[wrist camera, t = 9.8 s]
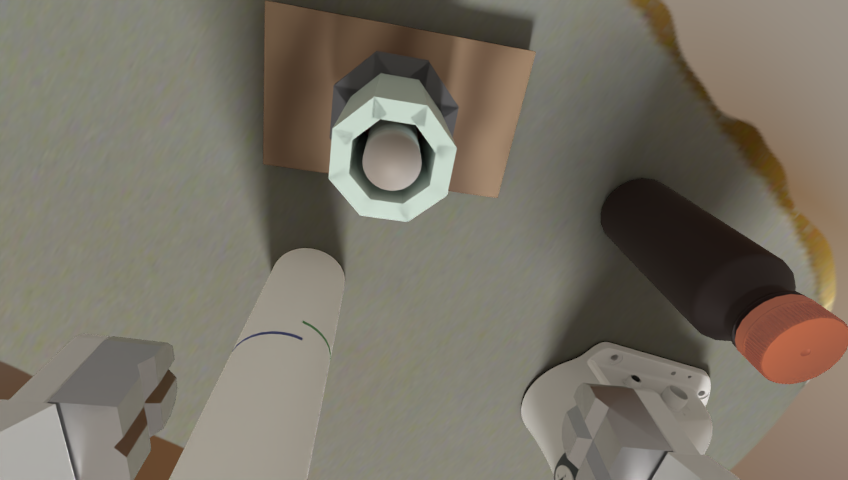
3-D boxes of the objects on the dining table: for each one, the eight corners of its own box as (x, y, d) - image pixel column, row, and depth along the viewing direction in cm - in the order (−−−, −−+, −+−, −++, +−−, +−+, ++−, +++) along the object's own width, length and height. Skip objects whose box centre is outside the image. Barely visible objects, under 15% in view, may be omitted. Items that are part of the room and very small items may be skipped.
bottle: (594, 243, 44) (728, 400, 26) (604, 178, 41) (765, 305, 23) (661, 240, 44) (840, 393, 26) (676, 175, 41) (891, 298, 23)
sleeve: (445, 84, 30) (464, 111, 21) (429, 171, 33) (440, 226, 24) (353, 67, 29) (335, 89, 21) (344, 159, 32) (325, 211, 23)
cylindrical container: (281, 238, 42) (149, 494, 19) (354, 261, 43) (308, 522, 21) (264, 297, 45) (132, 579, 22) (333, 317, 46) (273, 599, 24)
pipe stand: (528, 50, 35) (617, 73, 21) (493, 190, 41) (544, 284, 26) (272, 1, 33) (176, -10, 19) (269, 157, 38) (193, 241, 24)
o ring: (463, 66, 31) (466, 68, 30) (440, 182, 35) (442, 189, 33) (339, 43, 30) (336, 45, 28) (329, 166, 34) (326, 172, 32)
